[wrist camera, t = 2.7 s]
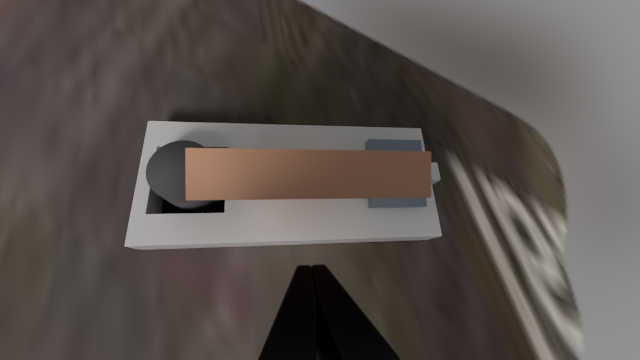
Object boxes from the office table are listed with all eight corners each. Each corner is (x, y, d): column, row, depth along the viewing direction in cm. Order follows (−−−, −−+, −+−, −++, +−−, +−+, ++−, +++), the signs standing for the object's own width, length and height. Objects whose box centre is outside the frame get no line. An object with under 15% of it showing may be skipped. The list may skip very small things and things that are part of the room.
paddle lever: (342, 186, 17) (431, 197, 7) (246, 186, 16) (185, 200, 6) (341, 167, 17) (431, 151, 7) (246, 167, 16) (185, 147, 6)
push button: (222, 211, 18) (211, 199, 15) (163, 212, 17) (140, 199, 14) (226, 161, 19) (216, 140, 16) (171, 160, 18) (151, 139, 15)
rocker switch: (420, 207, 18) (427, 206, 17) (368, 208, 17) (372, 207, 17) (415, 143, 19) (421, 140, 18) (364, 142, 18) (368, 139, 17)
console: (426, 239, 19) (457, 232, 16) (141, 249, 17) (106, 242, 13) (409, 140, 22) (432, 116, 19) (161, 136, 19) (135, 106, 16)
